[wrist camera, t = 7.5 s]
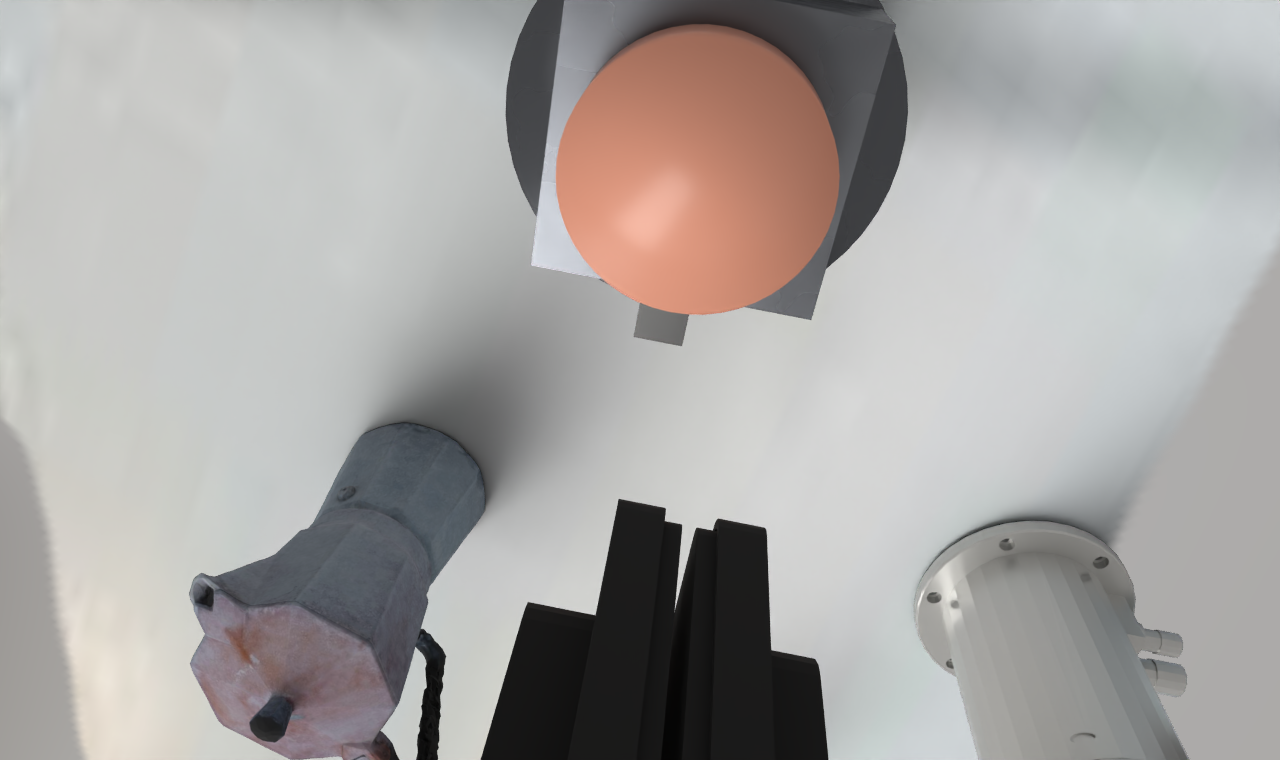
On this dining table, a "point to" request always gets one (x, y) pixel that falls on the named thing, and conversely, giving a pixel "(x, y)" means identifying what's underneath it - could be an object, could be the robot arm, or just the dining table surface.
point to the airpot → (755, 3)
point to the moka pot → (342, 605)
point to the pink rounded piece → (698, 170)
